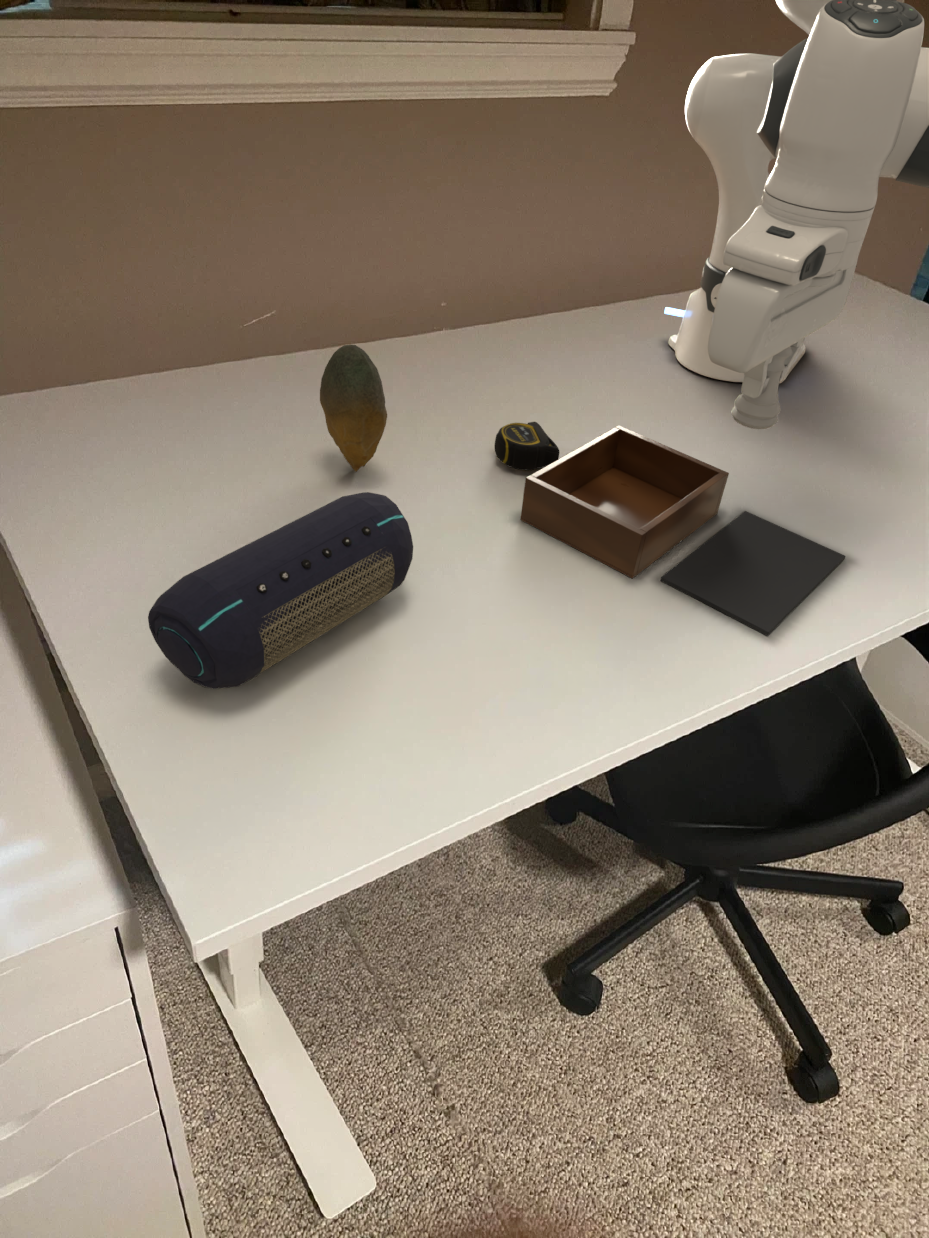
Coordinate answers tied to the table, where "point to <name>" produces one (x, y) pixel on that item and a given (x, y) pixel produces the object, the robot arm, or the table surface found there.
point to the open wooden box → (623, 499)
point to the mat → (754, 571)
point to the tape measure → (525, 446)
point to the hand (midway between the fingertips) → (762, 387)
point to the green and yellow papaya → (353, 404)
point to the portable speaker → (282, 590)
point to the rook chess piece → (762, 398)
